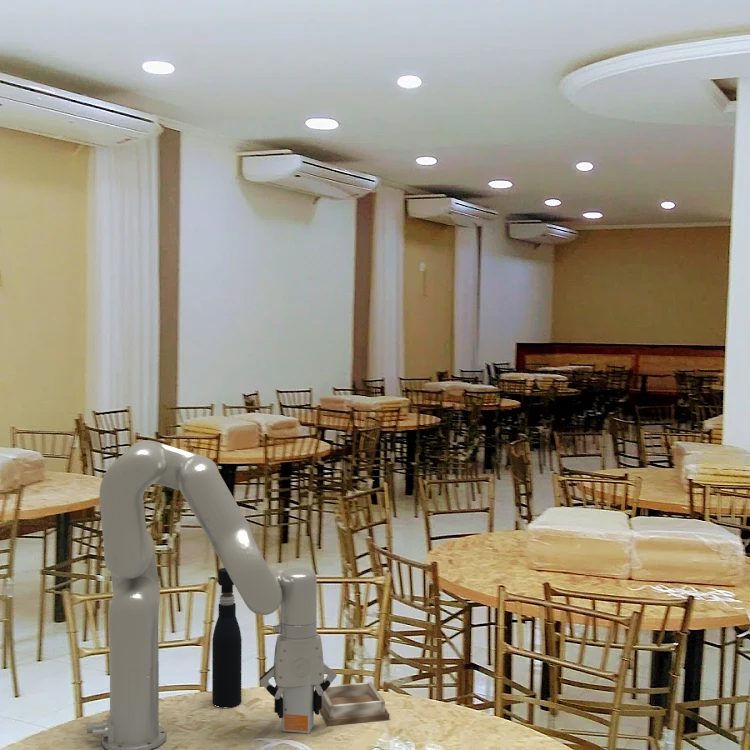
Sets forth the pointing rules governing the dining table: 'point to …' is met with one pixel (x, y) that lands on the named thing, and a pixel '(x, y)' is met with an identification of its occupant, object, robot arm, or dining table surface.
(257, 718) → the dining table surface
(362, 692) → the square brown tray
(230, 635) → the black water bottle
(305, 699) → the skincare box
